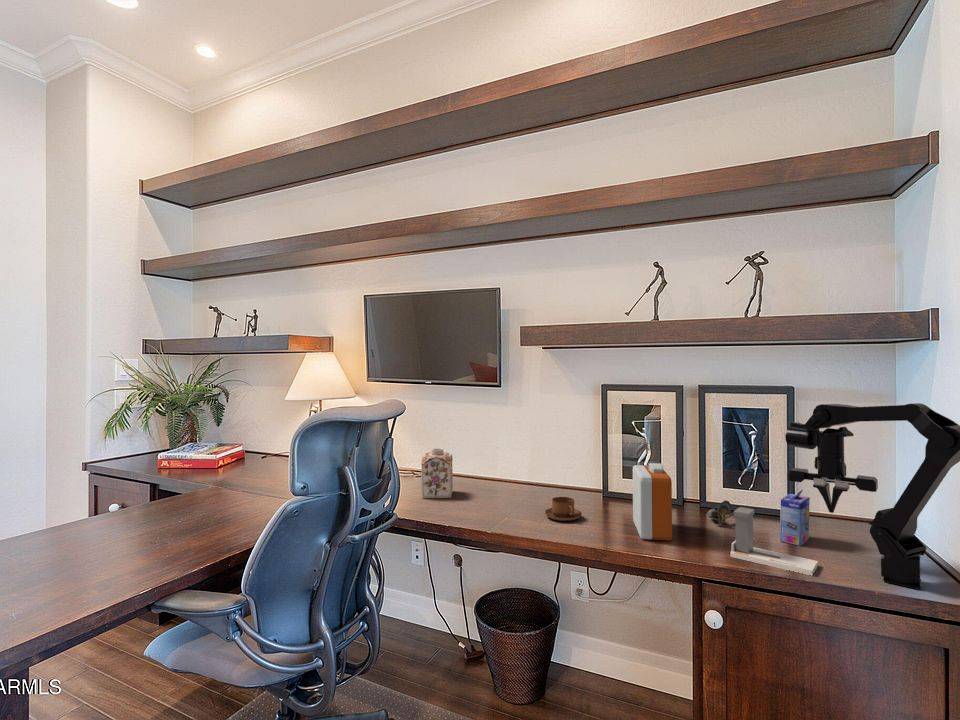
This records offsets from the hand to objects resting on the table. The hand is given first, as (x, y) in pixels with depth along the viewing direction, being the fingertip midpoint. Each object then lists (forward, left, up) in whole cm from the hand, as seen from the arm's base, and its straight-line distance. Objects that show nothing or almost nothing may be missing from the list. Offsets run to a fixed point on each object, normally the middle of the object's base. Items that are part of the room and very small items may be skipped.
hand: (831, 512), depth 128 cm
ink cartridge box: (+10, -10, -12) cm, 19 cm away
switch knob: (+18, +12, -10) cm, 24 cm away
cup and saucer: (+71, +16, -12) cm, 74 cm away
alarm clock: (+44, +10, -12) cm, 47 cm away
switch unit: (+11, +12, -12) cm, 20 cm away
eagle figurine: (+31, -12, -12) cm, 35 cm away
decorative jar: (+125, +24, -12) cm, 128 cm away
